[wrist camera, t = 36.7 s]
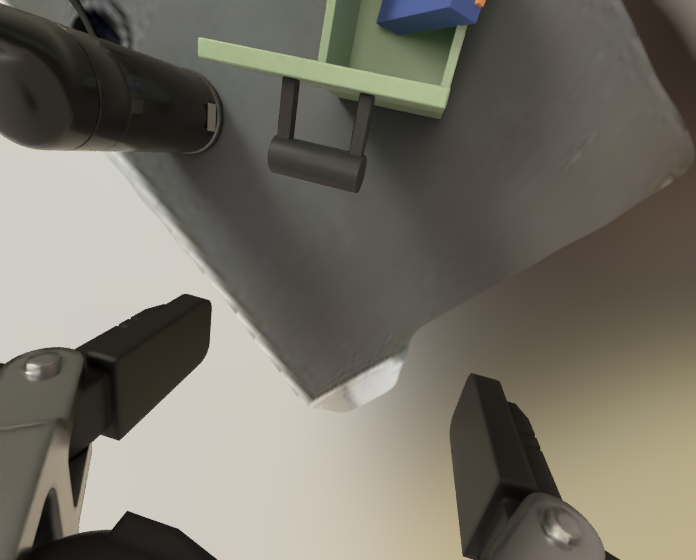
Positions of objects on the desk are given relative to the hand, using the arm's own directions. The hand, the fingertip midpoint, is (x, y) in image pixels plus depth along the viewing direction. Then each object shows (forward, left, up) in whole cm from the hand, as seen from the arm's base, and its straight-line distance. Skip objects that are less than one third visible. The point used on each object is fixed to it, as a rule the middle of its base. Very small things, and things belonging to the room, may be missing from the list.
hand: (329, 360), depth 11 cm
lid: (-4, +10, -16) cm, 19 cm away
